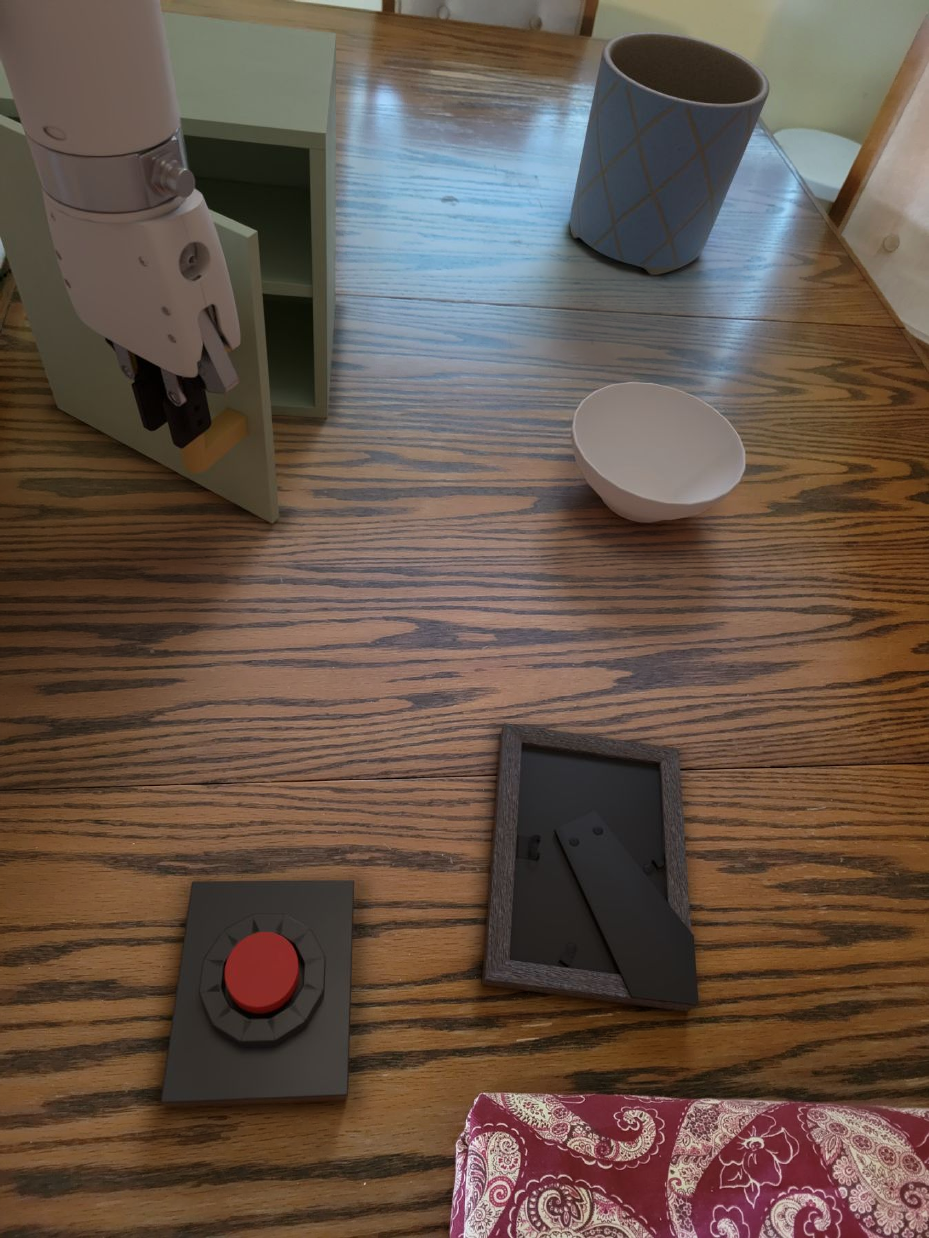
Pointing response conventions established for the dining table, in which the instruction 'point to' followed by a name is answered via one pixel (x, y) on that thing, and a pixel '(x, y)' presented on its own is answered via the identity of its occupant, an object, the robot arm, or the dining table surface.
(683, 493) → the bowl
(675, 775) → the picture frame
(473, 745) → the dining table surface
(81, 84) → the robot arm
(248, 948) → the button
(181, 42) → the cabinet
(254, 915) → the switch block
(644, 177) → the planter
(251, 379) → the cabinet door
